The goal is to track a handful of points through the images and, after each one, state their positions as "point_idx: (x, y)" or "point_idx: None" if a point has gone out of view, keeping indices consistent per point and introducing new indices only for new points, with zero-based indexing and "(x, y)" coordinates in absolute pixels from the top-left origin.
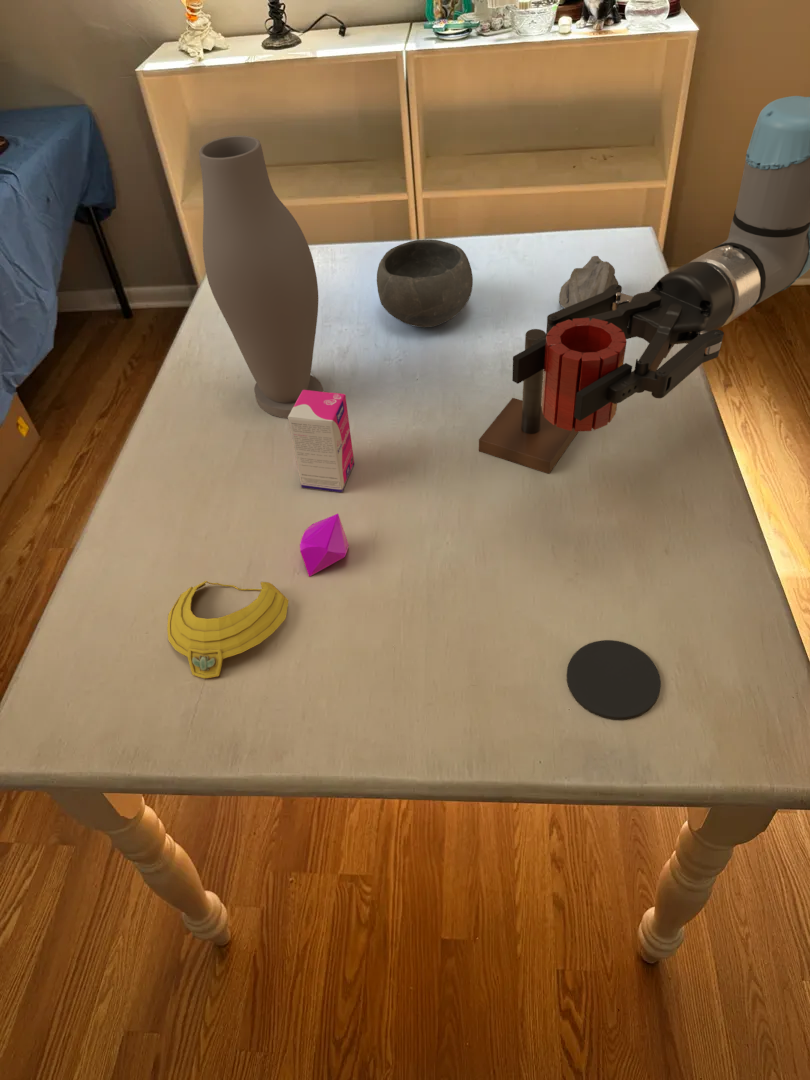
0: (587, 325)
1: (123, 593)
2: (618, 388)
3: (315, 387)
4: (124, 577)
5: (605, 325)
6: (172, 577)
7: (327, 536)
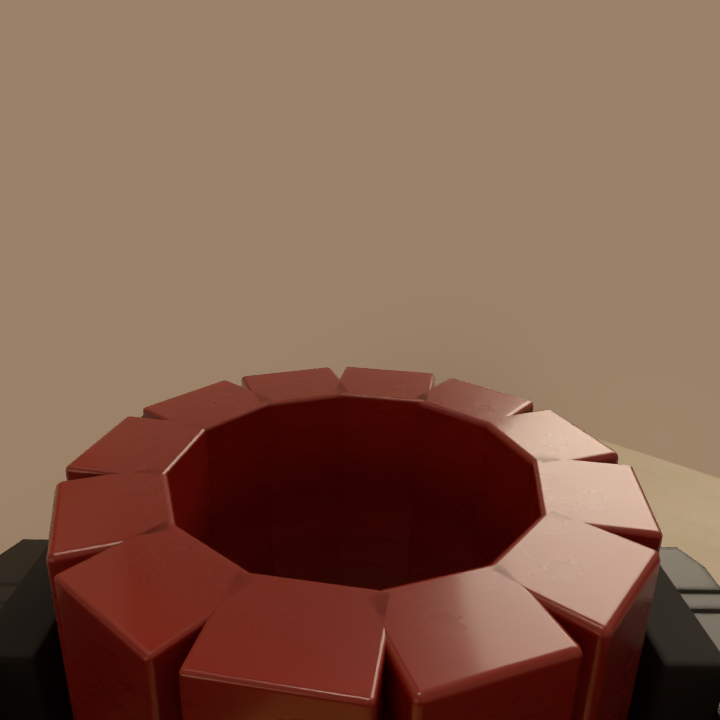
0: (495, 559)
1: (664, 498)
2: (18, 555)
3: None
4: (695, 506)
5: (379, 632)
6: (673, 534)
7: None
